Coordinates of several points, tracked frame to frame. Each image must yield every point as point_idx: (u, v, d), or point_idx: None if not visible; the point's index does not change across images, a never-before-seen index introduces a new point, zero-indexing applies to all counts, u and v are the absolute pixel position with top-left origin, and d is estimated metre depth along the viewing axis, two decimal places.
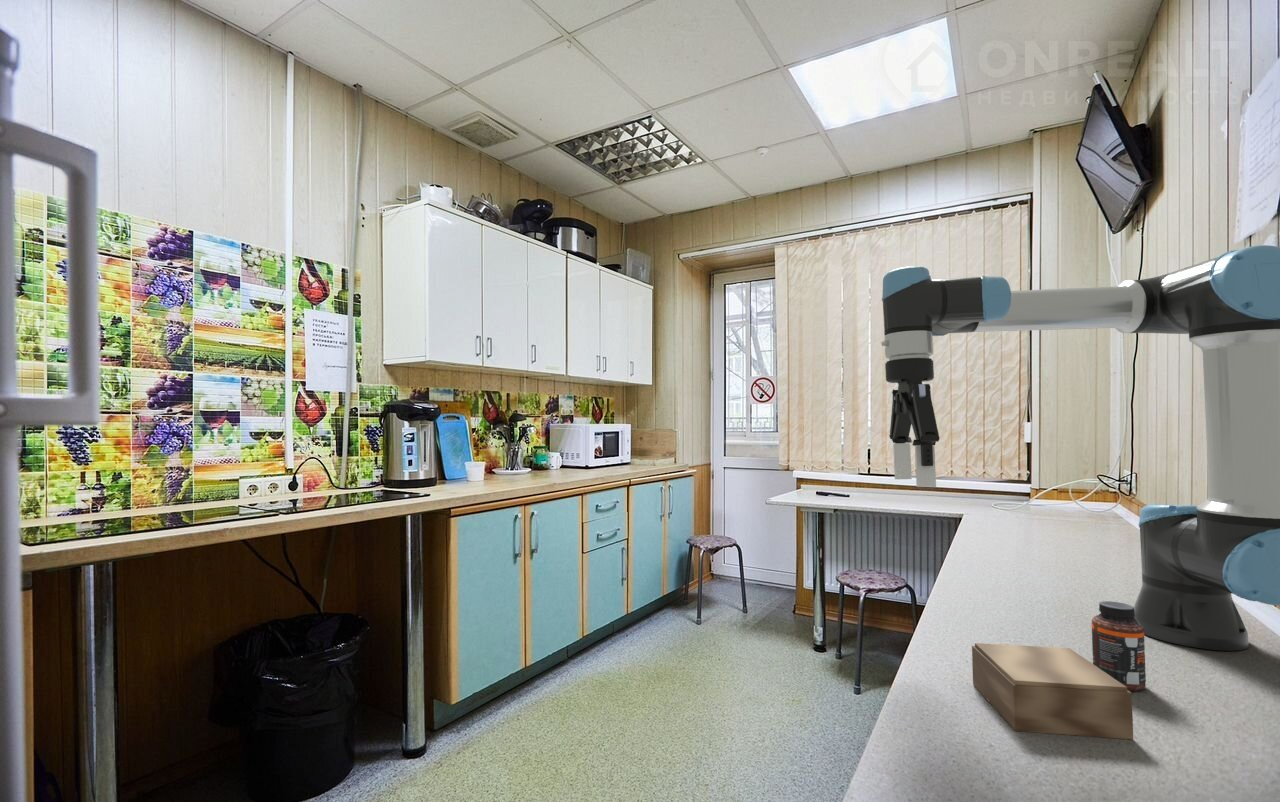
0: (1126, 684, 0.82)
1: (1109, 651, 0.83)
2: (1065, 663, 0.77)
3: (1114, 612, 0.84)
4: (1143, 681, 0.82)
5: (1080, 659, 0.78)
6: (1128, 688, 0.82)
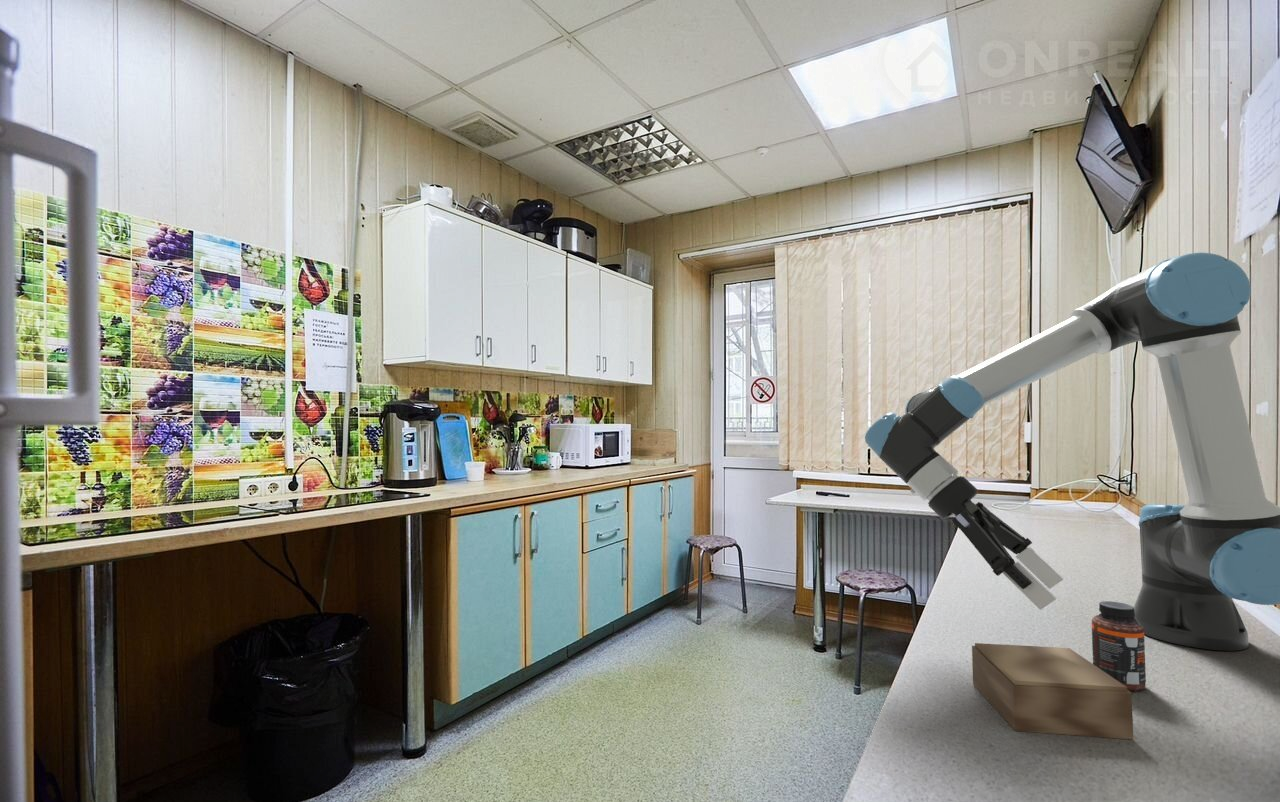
0: (1126, 684, 0.82)
1: (1109, 651, 0.83)
2: (1065, 663, 0.77)
3: (1114, 612, 0.84)
4: (1143, 681, 0.82)
5: (1080, 659, 0.78)
6: (1128, 688, 0.82)
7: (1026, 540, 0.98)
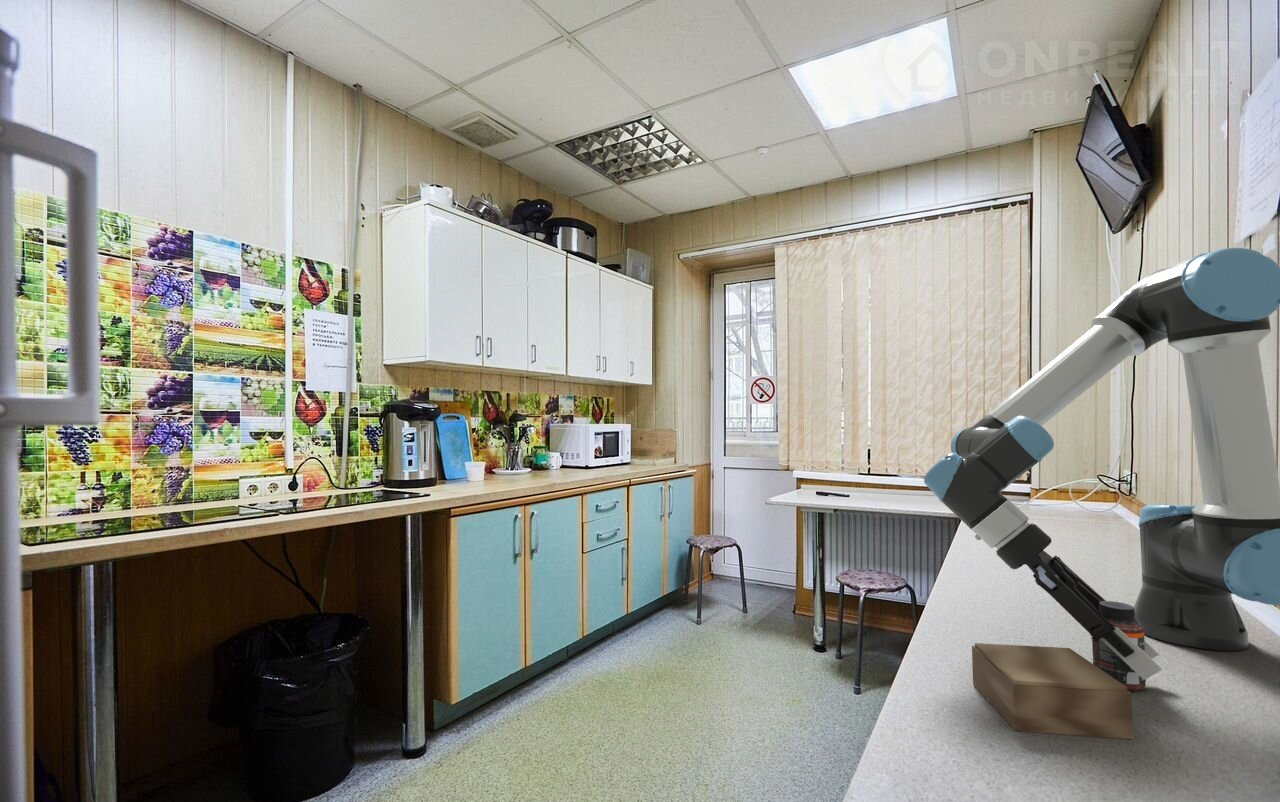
0: (1126, 684, 0.82)
1: (1109, 651, 0.83)
2: (1065, 663, 0.77)
3: (1114, 612, 0.84)
4: (1143, 681, 0.82)
5: (1080, 659, 0.78)
6: (1128, 688, 0.82)
7: None
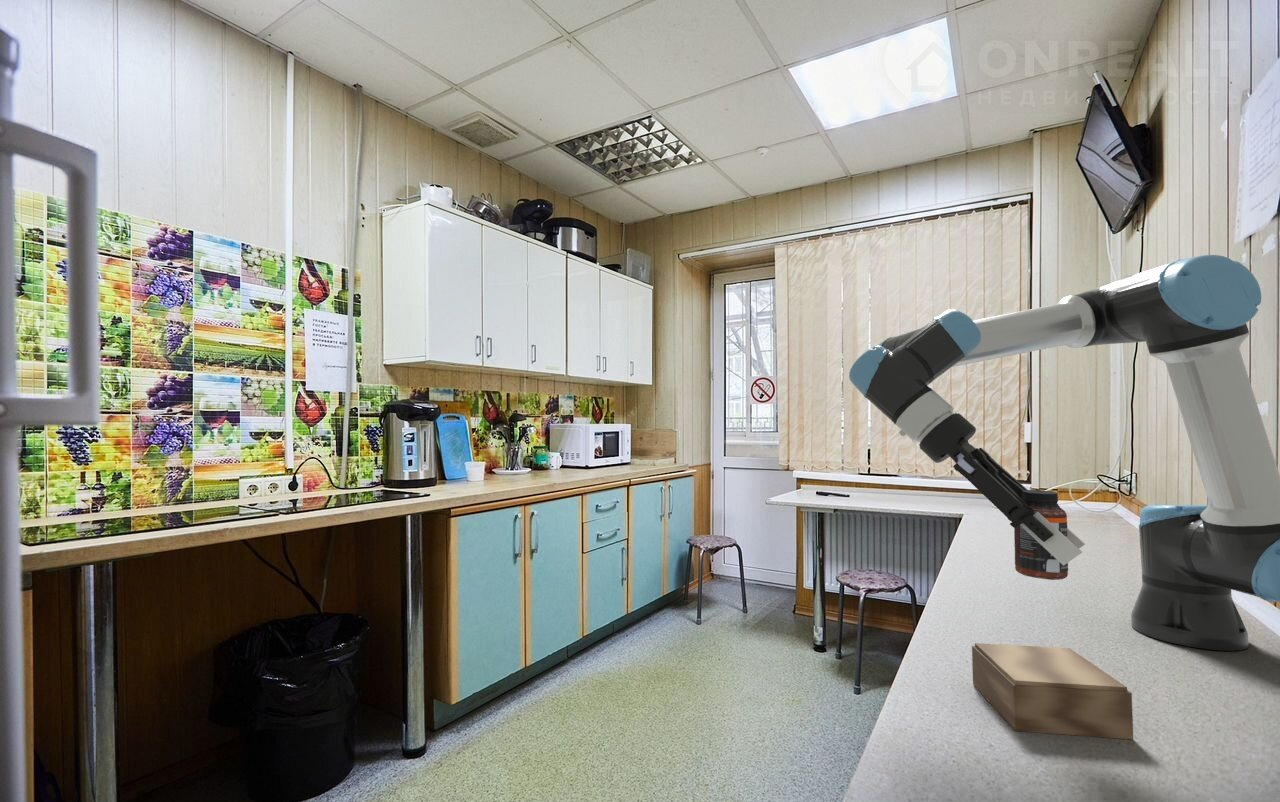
0: (1046, 572, 0.76)
1: (1029, 538, 0.77)
2: (1065, 663, 0.77)
3: (1035, 497, 0.78)
4: (1064, 569, 0.76)
5: (1080, 659, 0.78)
6: (1048, 576, 0.76)
7: None
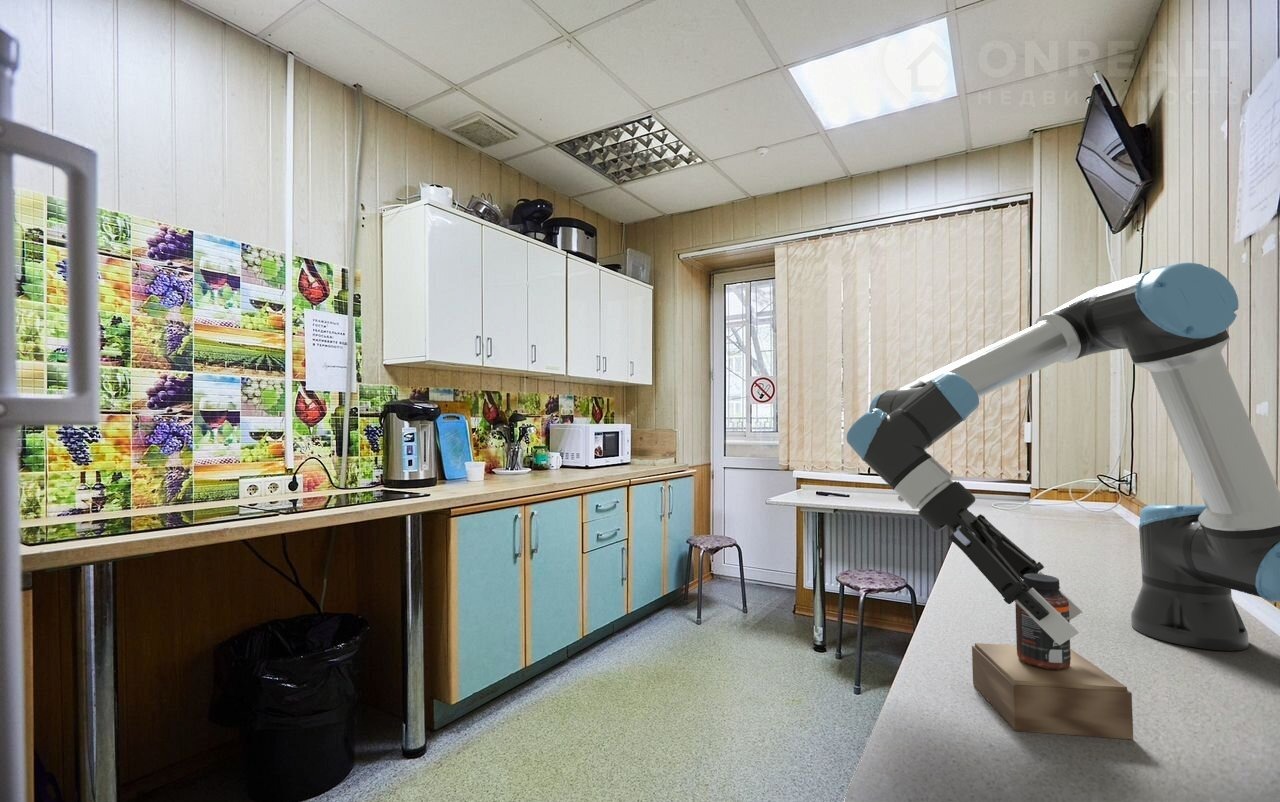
0: (1048, 662, 0.75)
1: (1031, 627, 0.76)
2: None
3: (1037, 584, 0.77)
4: (1067, 659, 0.75)
5: (1080, 659, 0.78)
6: (1050, 667, 0.75)
7: (1037, 564, 0.83)
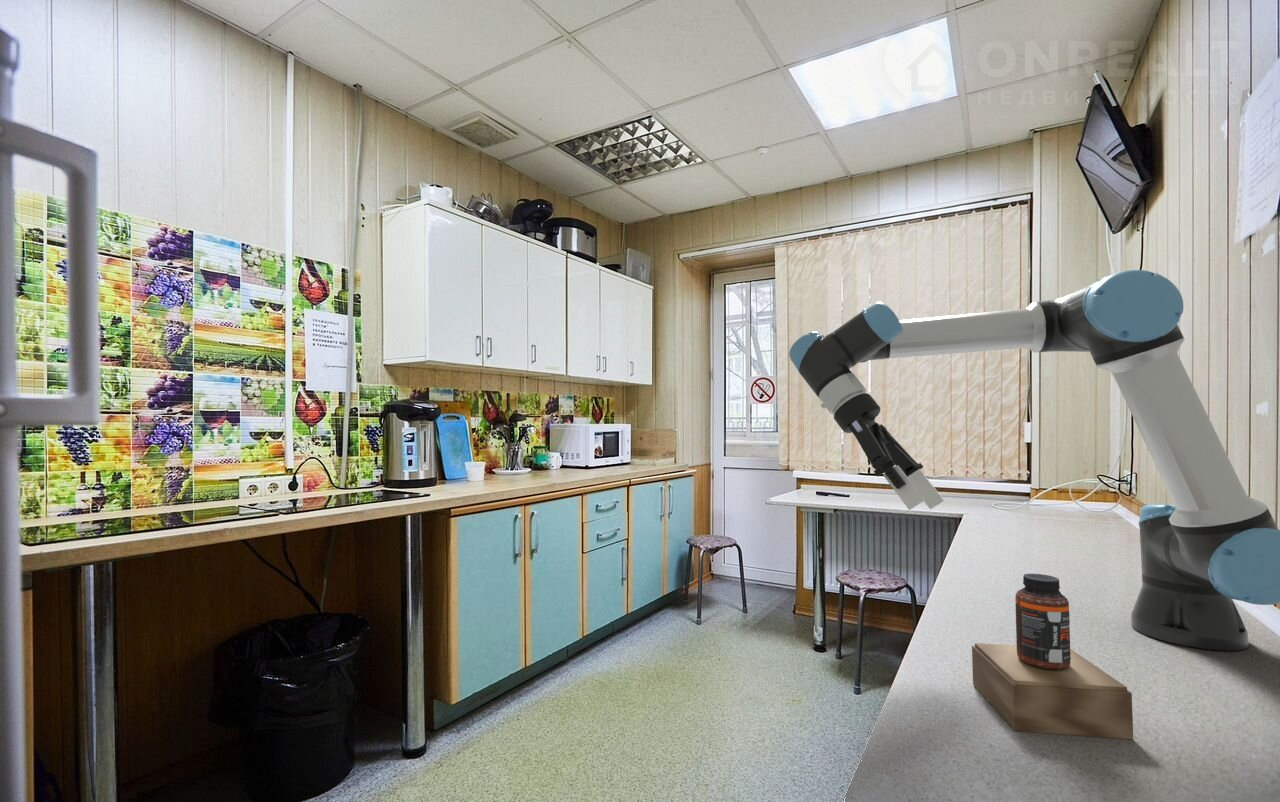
0: (1048, 662, 0.75)
1: (1031, 626, 0.76)
2: None
3: (1037, 584, 0.77)
4: (1067, 659, 0.75)
5: (1080, 659, 0.78)
6: (1050, 667, 0.75)
7: (918, 464, 1.04)
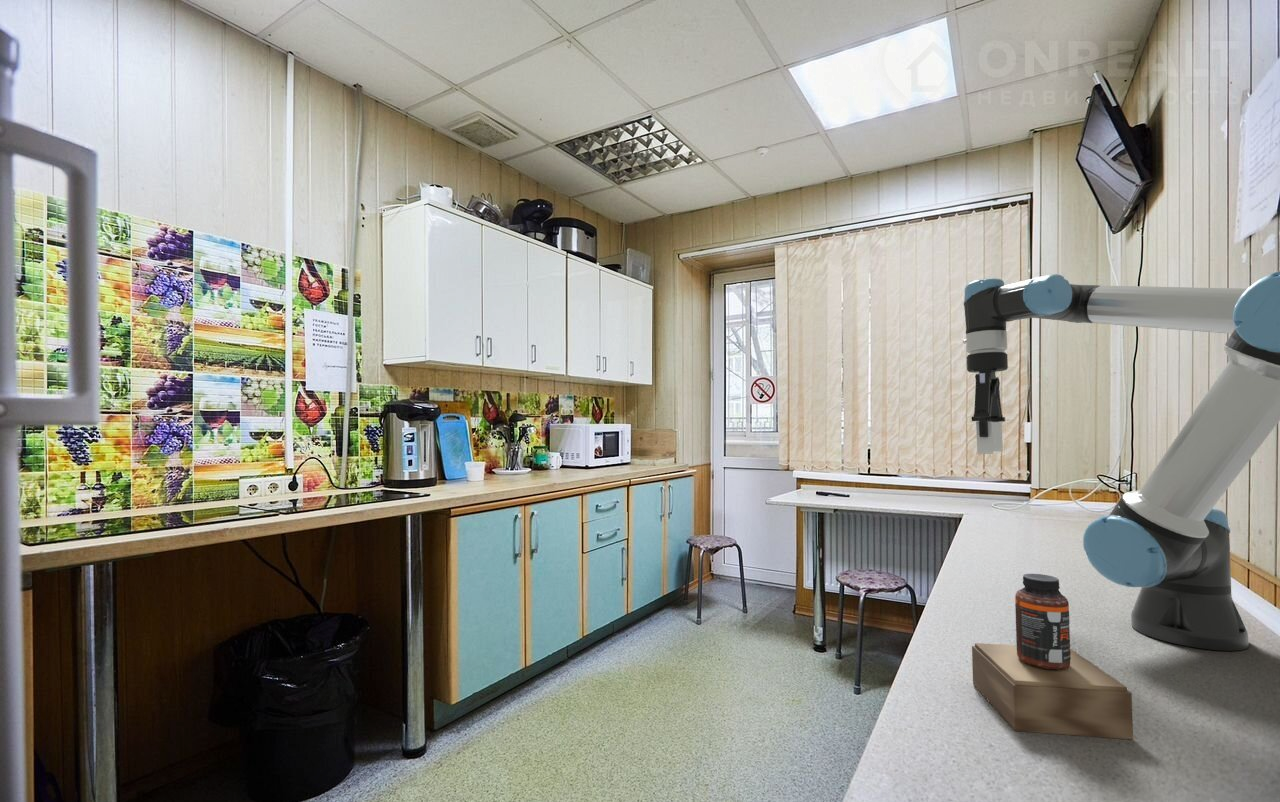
0: (1048, 662, 0.75)
1: (1031, 626, 0.76)
2: None
3: (1037, 584, 0.77)
4: (1067, 659, 0.75)
5: (1080, 659, 0.78)
6: (1050, 667, 0.75)
7: (1002, 418, 1.29)
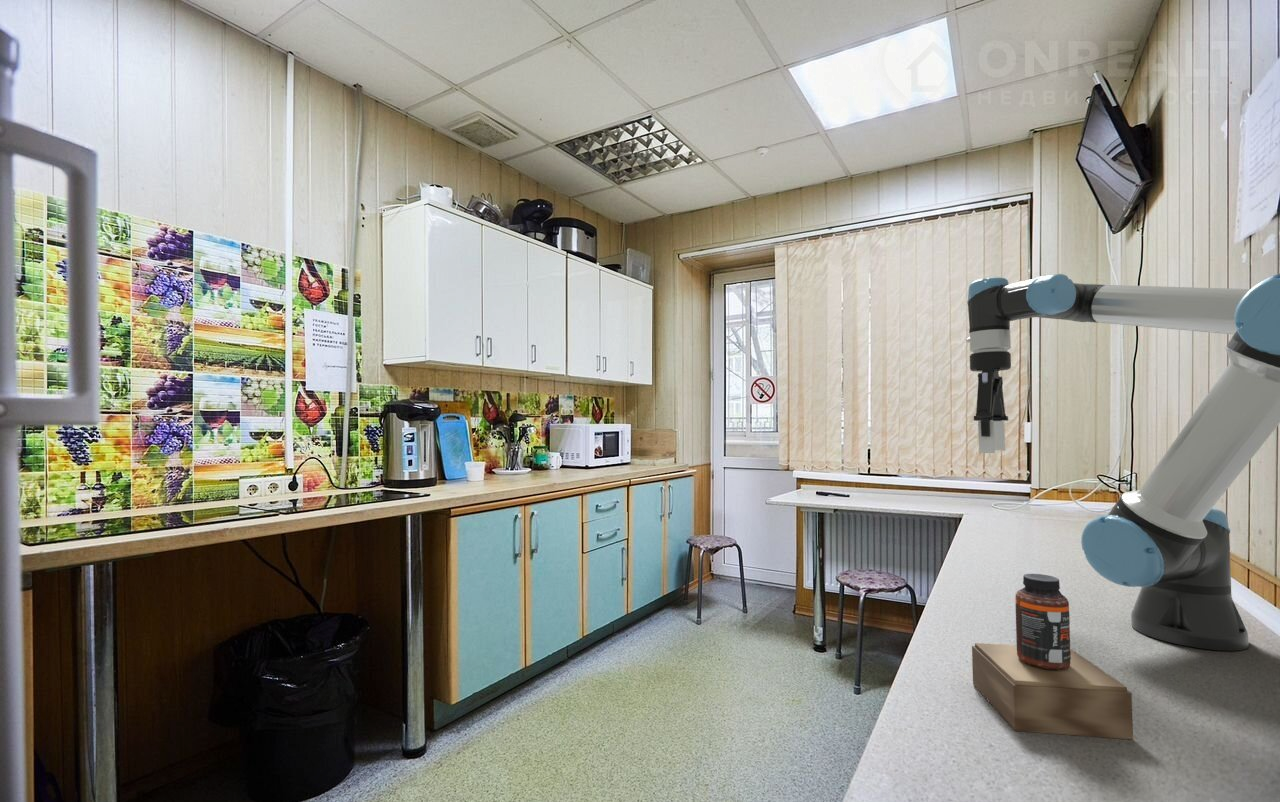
0: (1048, 662, 0.75)
1: (1031, 626, 0.76)
2: None
3: (1037, 584, 0.77)
4: (1067, 659, 0.75)
5: (1080, 659, 0.78)
6: (1050, 667, 0.75)
7: (1005, 417, 1.29)
